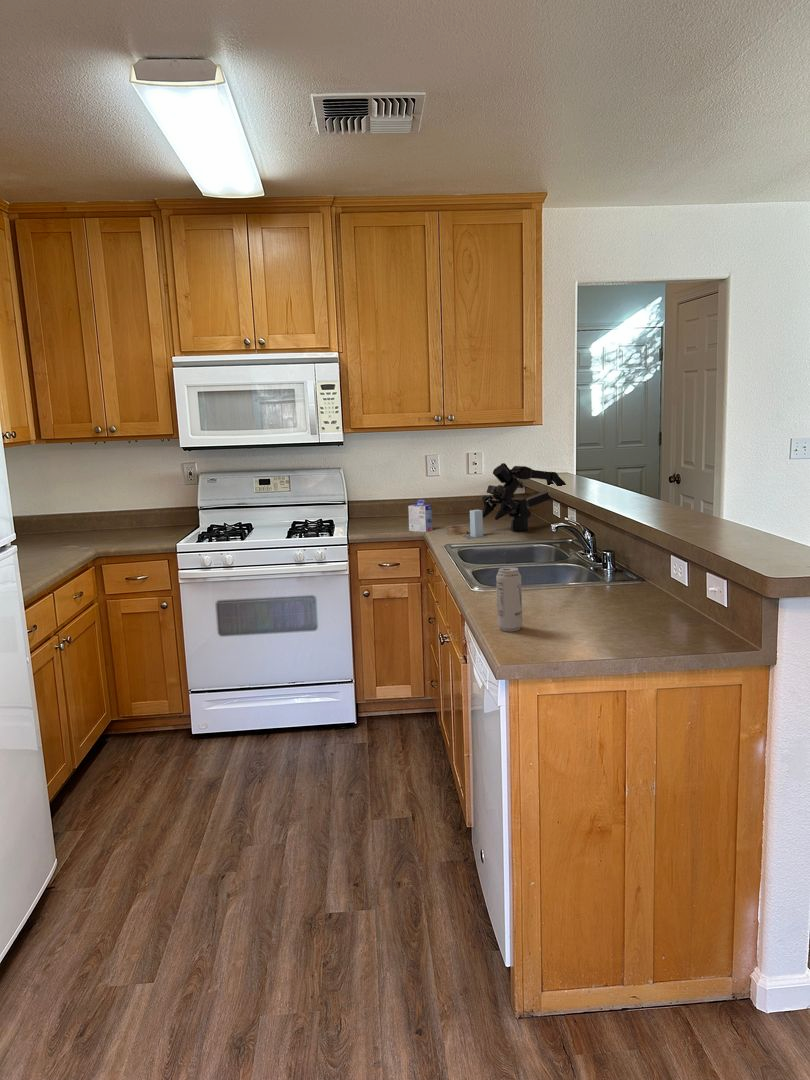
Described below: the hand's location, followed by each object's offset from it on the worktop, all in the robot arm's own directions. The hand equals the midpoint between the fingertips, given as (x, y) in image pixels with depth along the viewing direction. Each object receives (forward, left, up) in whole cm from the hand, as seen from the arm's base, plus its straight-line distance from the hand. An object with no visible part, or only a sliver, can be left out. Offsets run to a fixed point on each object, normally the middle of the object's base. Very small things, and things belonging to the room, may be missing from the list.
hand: (488, 518), depth 320 cm
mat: (+7, +2, -7) cm, 11 cm away
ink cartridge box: (+24, -26, -8) cm, 36 cm away
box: (+12, -9, -7) cm, 17 cm away
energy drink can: (+39, +133, -8) cm, 139 cm away
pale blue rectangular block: (+6, +2, -7) cm, 10 cm away
